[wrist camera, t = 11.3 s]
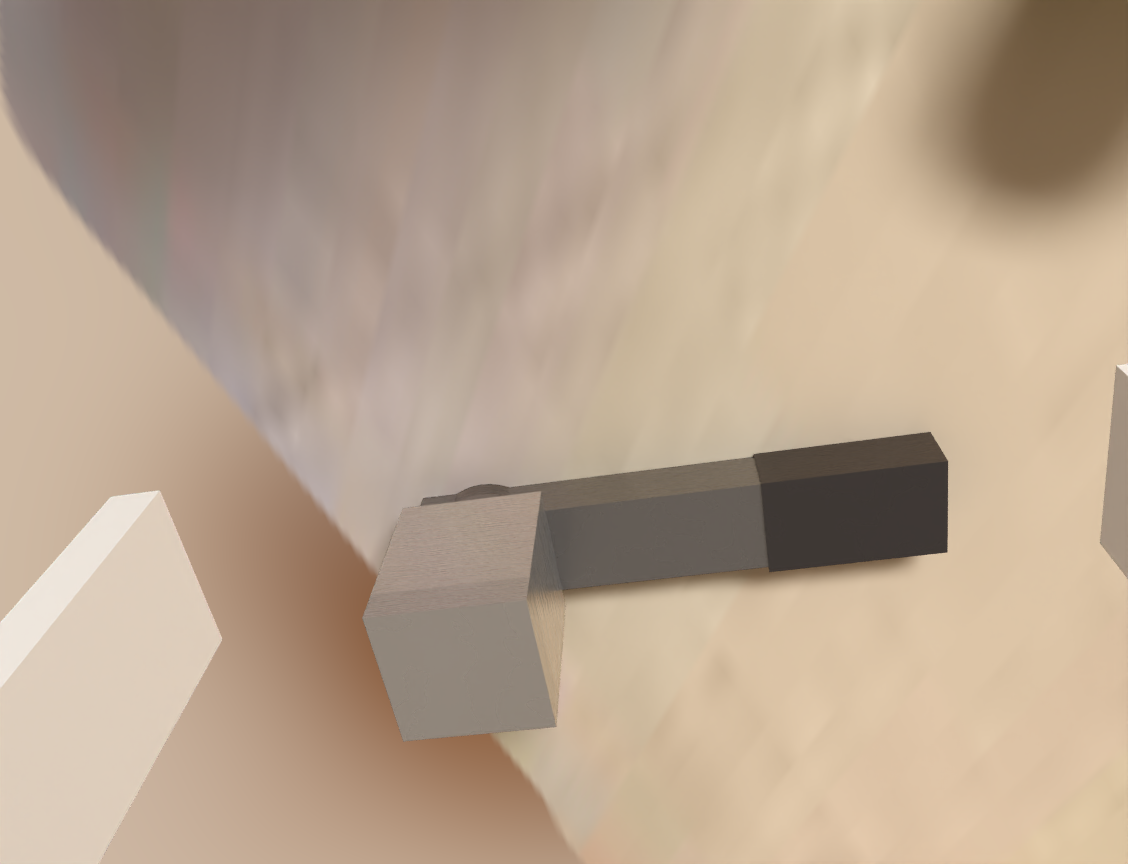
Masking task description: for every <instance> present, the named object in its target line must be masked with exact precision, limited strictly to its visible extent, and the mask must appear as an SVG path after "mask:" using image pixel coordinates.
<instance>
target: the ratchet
mask: <svg viewBox="0 0 1128 864" xmlns="http://www.w3.org/2000/svg"><path fill="white" fill-rule="evenodd" d="M539 491H541V493H542V497H543V502H544V507H545V511H546V516H547V521H548V525H549V530H550V535H551V540H552V544H553V549H554V554H555V558H556V563H557V568H558V572H559V577H560V582H561V586H562V590H565V589H574V588H583V587H592V586H601V585H610V584H619V583H628V582H637V581H646V580H655V579H664V578H673V577H682V576H691V575H700V574H709V573H718V572H727V571H736V570H745V569H754V568H763V567H769V572H774V571H783V570H792V569H801V568H810V567H819V566H828V565H837V564H846V563H855V562H864V561H873V560H882V559H891V558H900V557H909V556H918V555H928V554H937V553H946V552H947V540H948V460H947V459H946V457H945V455H944V454H943V452H942V450H941V449H940V447H939V445H938V444H937V442H936V441H935V439H934V437H933V436H932V434H931V432H927V433H919V434H911V435H903V436H895V437H887V438H879V439H872V440H864V441H856V442H848V443H840V444H832V445H824V446H816V447H808V448H800V449H792V450H784V451H776V452H768V453H760V454H754V457H751V458H743V459H735V460H727V461H719V462H711V463H703V464H695V465H687V466H679V467H671V468H663V469H655V470H647V471H639V472H631V473H623V474H615V475H607V476H599V477H591V478H583V479H575V480H567V481H559V482H551V483H543V484H535V485H527V486H519V487H511V488H509V487H505V486H501V485H492V484H486V485H478V486H473V487H470V488H468V489H465V490H463V491H461V492H460V493H458V494H455V495H447V496H439V497H431V498H423V500H422V503H421V506H426V505H434V504H442V503H450V502H458V501H466V500H474V499H482V498H491V497H499V496H507V495H515V494H523V493H531V492H539Z"/></svg>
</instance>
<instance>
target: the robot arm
mask: <svg viewBox="0 0 1128 864" xmlns="http://www.w3.org/2000/svg"><path fill="white" fill-rule="evenodd" d="M1100 544H1101V545H1102V546H1103V548H1104V549H1105V550H1106V552H1107V553H1108V554H1109V555H1110V557H1111V558H1112V559H1113V561H1114V562H1115V563H1116V564H1117V566H1118V567H1119V568H1120V570H1121V571H1122V572H1123V573H1124V575H1125V576H1126V577H1127V579H1128V364H1123V365H1116V373H1115V384H1114V395H1113V406H1112V417H1111V428H1110V439H1109V450H1108V461H1107V472H1106V483H1105V494H1104V505H1103V515H1102V526H1101V537H1100ZM221 640H222V637H221V635H220V632H219V630H218V628H217V625H216V623H215V620H214V618H213V616H212V613H211V611H210V609H209V606H208V604H207V601H206V599H205V597H204V594H203V592H202V589H201V587H200V585H199V582H198V580H197V577H196V575H195V573H194V570H193V568H192V566H191V563H190V561H189V559H188V556H187V554H186V551H185V549H184V546H183V544H182V542H181V539H180V537H179V535H178V532H177V530H176V528H175V525H174V523H173V520H172V518H171V515H170V513H169V511H168V508H167V506H166V504H165V501H164V499H163V496H162V494H161V492H160V491H151V492H143V493H136V494H129V495H120V496H112V497H110V498H109V499H108V501H107V502H106V503H105V504H104V505H103V506H102V507H101V508H100V510H99V511H98V512H97V513H96V514H95V515H94V516H93V518H92V519H91V520H90V521H89V522H88V523H87V524H86V526H85V527H84V528H83V529H82V530H81V531H80V532H79V533H78V535H77V536H76V537H75V538H74V539H73V540H72V541H71V542H70V544H69V545H68V546H67V547H66V548H65V549H64V550H63V552H62V553H61V554H60V555H59V556H58V557H57V558H56V560H55V561H54V562H53V563H52V564H51V565H50V566H49V567H48V569H47V570H46V571H45V572H44V573H43V574H42V575H41V576H40V578H39V579H38V580H37V581H36V582H35V583H34V585H33V586H32V587H31V588H30V589H29V590H28V591H27V592H26V594H25V595H24V596H23V597H22V598H21V599H20V600H19V602H18V603H17V604H16V605H15V606H14V607H13V608H12V609H11V611H10V612H9V613H8V614H7V615H6V616H5V617H4V619H3V620H2V621H1V622H0V864H99V863H100V861H101V859H102V857H103V855H104V854H105V852H106V850H107V848H108V846H109V844H110V843H111V841H112V839H113V837H114V835H115V834H116V832H117V830H118V828H119V826H120V824H121V823H122V821H123V819H124V817H125V815H126V814H127V812H128V810H129V808H130V806H131V805H132V803H133V801H134V799H135V797H136V795H137V793H138V792H139V790H140V788H141V786H142V785H143V783H144V781H145V779H146V777H147V775H148V773H149V772H150V770H151V768H152V766H153V765H154V763H155V761H156V759H157V757H158V755H159V754H160V752H161V750H162V748H163V746H164V745H165V743H166V741H167V739H168V737H169V735H170V733H171V732H172V730H173V728H174V726H175V725H176V723H177V721H178V719H179V717H180V716H181V714H182V712H183V710H184V708H185V707H186V705H187V703H188V701H189V699H190V697H191V696H192V694H193V692H194V690H195V688H196V687H197V685H198V683H199V681H200V679H201V677H202V676H203V674H204V672H205V670H206V668H207V667H208V665H209V663H210V661H211V659H212V658H213V656H214V654H215V652H216V650H217V648H218V647H219V645H220V643H221Z"/></svg>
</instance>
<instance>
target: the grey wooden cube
mask: <svg viewBox="0 0 1128 864" xmlns="http://www.w3.org/2000/svg"><path fill="white" fill-rule="evenodd" d="M565 608H566V605H565V600H564V596H563V591H562V586H561V582H560V577H559V572H558V568H557V563H556V558H555V554H554V549H553V544H552V540H551V535H550V530H549V525H548V521H547V516H546V511H545V507H544V502H543V497H542V493H541V491H539V492H531V493H523V494H515V495H507V496H499V497H491V498H482V499H474V500H466V501H458V502H450V503H442V504H434V505H426V506H418V507H410V508H403V509H402V511H401V514H400V517H399V520H398V522H397V525H396V528H395V531H394V533H393V536H392V539H391V541H390V544H389V547H388V550H387V552H386V555H385V558H384V560H383V563H382V566H381V569H380V571H379V574H378V577H377V580H376V582H375V585H374V588H373V590H372V593H371V596H370V599H369V601H368V604H367V607H366V610H365V612H364V615H363V622H364V625H365V628H366V630H367V634H368V637H369V640H370V643H371V646H372V649H373V652H374V655H375V657H376V661H377V664H378V666H379V669H380V673H381V675H382V679H383V682H384V685H385V688H386V691H387V694H388V697H389V699H390V703H391V706H392V708H393V711H394V715H395V718H396V721H397V724H398V727H399V730H400V733H401V736H402V739H403V741H412V740H423V739H433V738H444V737H455V736H465V735H476V734H487V733H497V732H508V731H519V730H529V729H540V728H550V727H556V725H557V712H558V699H559V686H560V673H561V660H562V647H563V634H564V621H565Z"/></svg>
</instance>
